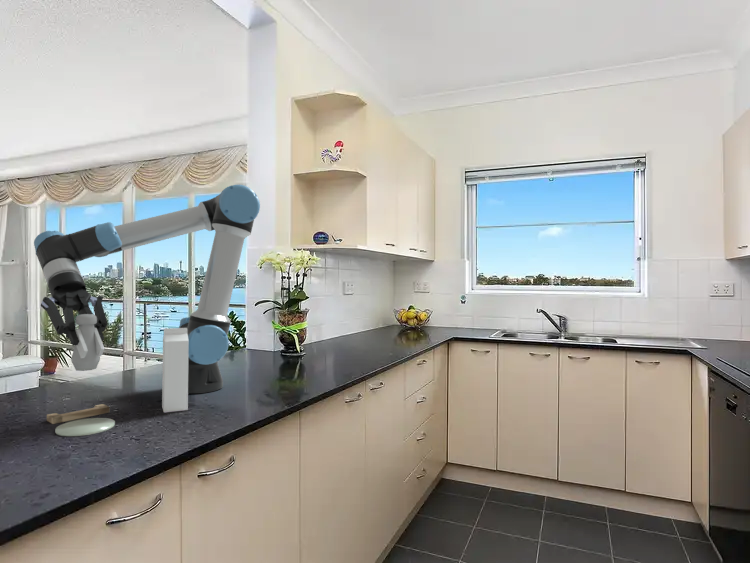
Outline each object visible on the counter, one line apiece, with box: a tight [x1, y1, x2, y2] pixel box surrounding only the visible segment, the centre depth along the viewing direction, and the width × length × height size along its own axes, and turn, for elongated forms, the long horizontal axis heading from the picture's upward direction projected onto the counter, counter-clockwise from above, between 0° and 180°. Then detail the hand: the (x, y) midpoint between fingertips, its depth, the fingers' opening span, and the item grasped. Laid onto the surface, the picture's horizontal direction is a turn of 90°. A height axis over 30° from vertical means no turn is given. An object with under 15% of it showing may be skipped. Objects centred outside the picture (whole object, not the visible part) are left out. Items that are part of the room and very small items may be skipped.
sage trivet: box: [54, 417, 116, 437], centre depth 112 cm, size 12×12×1 cm
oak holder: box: [46, 403, 110, 425], centre depth 120 cm, size 4×13×2 cm, turn 143°
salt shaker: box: [70, 313, 101, 372], centre depth 112 cm, size 6×6×13 cm
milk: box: [161, 327, 189, 413], centre depth 129 cm, size 6×6×22 cm
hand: (92, 353), depth 109 cm, fingers closed on salt shaker, 3 cm apart
